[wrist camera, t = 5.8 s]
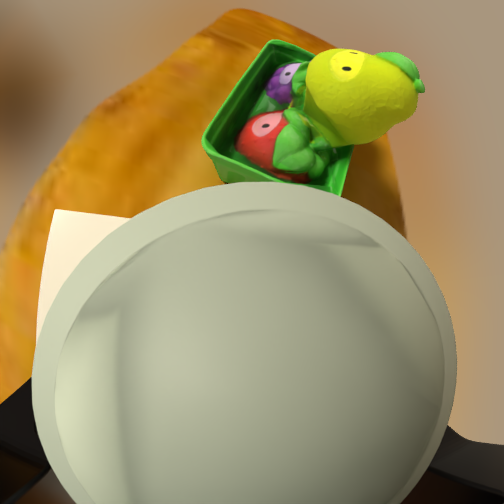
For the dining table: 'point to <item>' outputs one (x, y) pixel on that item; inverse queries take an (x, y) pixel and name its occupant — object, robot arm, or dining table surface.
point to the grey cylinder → (246, 356)
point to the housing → (69, 251)
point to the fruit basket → (308, 114)
